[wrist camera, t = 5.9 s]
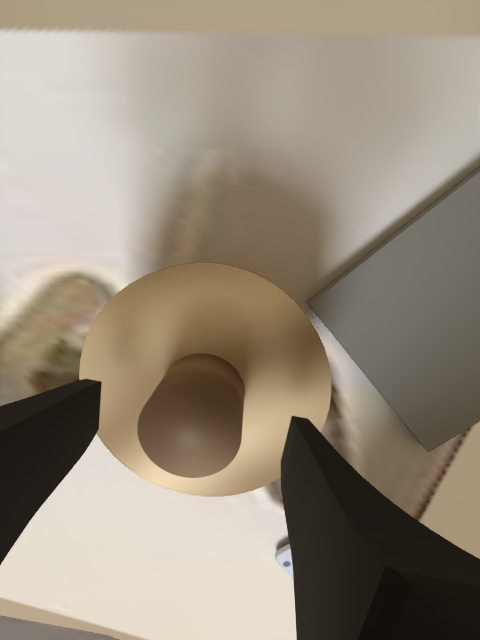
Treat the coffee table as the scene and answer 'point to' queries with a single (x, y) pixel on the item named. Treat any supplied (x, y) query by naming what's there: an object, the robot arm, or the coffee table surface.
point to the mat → (418, 316)
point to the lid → (204, 377)
